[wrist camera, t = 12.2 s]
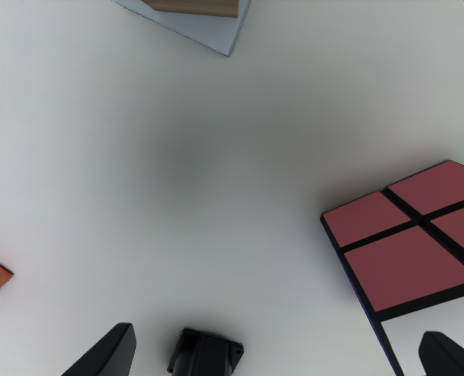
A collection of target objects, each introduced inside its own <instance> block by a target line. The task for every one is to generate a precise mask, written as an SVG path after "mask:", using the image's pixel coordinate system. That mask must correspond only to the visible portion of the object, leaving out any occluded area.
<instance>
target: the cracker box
mask: <svg viewBox="0 0 464 376" xmlns="http://www.w3.org/2000/svg"><path fill="white" fill-rule="evenodd" d="M11 277H12V274H10V273H9V272H7V271H6V270H4V269H3V268H2V267H0V288H1V287H2V286H3V285H4V284H5V283H6V282H7V281H8V280H9V279H10V278H11Z"/></svg>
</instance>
